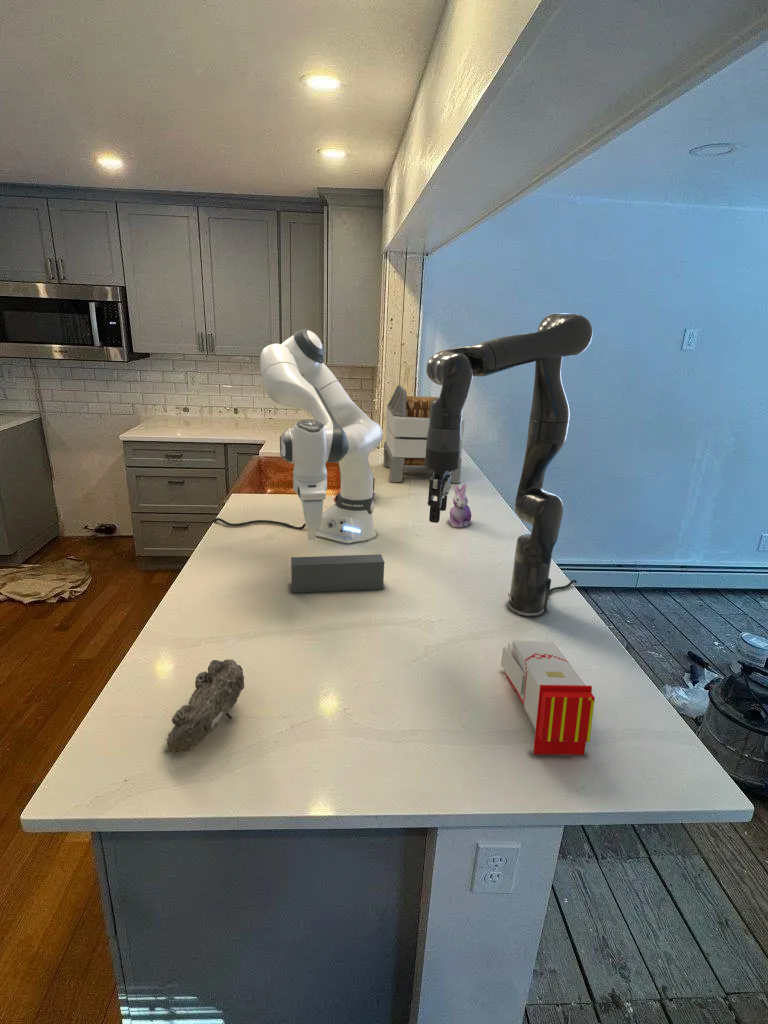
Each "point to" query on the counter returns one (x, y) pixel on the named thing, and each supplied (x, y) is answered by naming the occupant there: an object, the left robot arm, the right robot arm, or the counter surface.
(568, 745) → the toy
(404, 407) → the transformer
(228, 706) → the fossil
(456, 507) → the figurine
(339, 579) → the bar
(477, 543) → the counter surface
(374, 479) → the figurine character
